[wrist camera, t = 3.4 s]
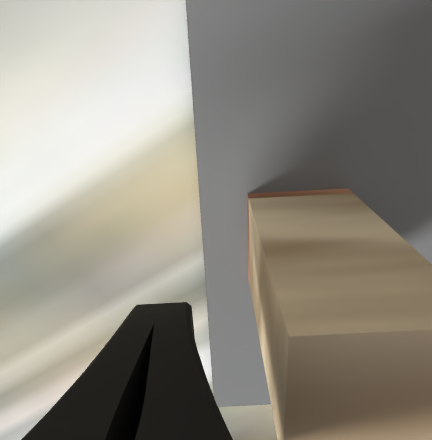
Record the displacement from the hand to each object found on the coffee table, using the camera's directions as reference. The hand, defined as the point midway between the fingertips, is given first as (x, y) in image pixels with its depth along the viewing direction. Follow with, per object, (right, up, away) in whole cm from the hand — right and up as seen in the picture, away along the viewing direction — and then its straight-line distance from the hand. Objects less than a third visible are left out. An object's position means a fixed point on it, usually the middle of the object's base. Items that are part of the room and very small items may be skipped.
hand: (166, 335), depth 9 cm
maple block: (+4, +2, +5) cm, 7 cm away
